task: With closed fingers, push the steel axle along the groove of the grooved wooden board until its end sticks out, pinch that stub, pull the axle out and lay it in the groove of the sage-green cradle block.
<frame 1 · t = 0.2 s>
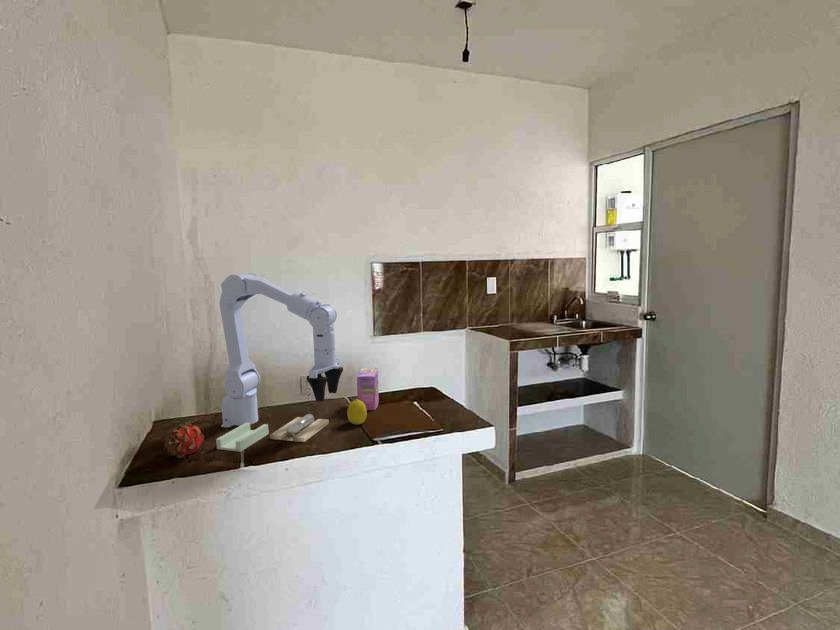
hand: (326, 396, 132), 9 cm above the countertop, tool pointing down, fingers open, 7 cm apart
lemon: (357, 426, 135), on the countertop
dragon fruit: (185, 455, 118), on the countertop
axle: (300, 430, 130), point 1 cm above the countertop, touching grooved wooden board
cradle: (244, 444, 124), on the countertop
grooved wooden board: (301, 433, 130), on the countertop
box: (368, 408, 151), on the countertop
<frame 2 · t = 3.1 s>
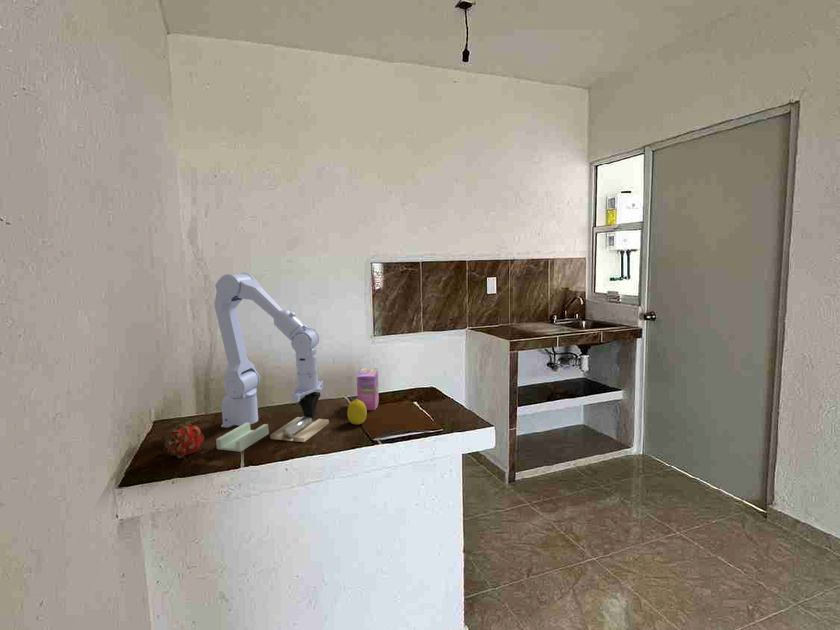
hand: (309, 418, 135), 3 cm above the countertop, tool pointing down, fingers closed
axle: (298, 431, 129), point 1 cm above the countertop, tilted 7°, touching gripper
everything else where it was.
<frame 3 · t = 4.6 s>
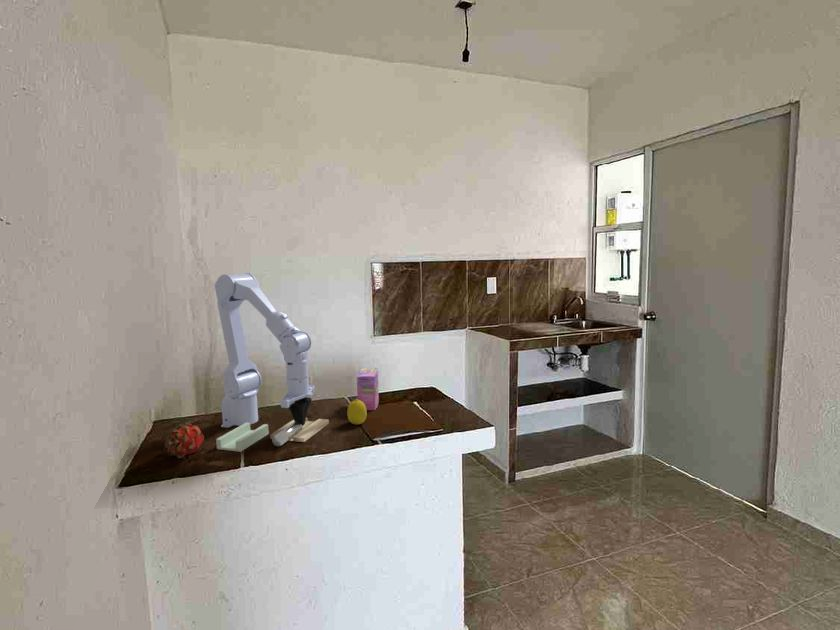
hand: (300, 425, 130), 3 cm above the countertop, tool pointing down, fingers closed
axle: (288, 438, 124), point 1 cm above the countertop, tilted 6°, touching grooved wooden board, gripper
everything else where it was.
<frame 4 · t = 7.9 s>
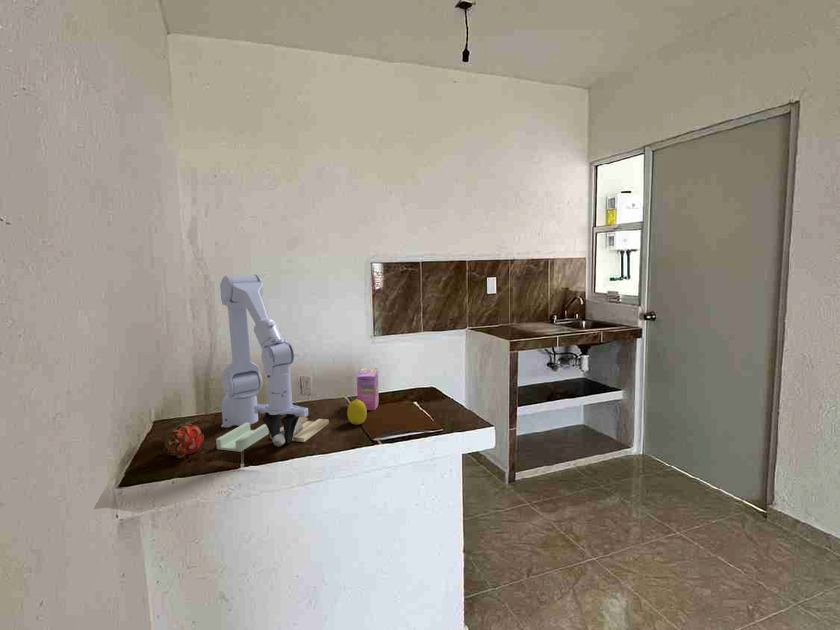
hand: (282, 441, 121), 1 cm above the countertop, tool pointing down, fingers closed on axle, 3 cm apart
axle: (288, 439, 124), point 1 cm above the countertop, touching grooved wooden board, gripper
everything else where it was.
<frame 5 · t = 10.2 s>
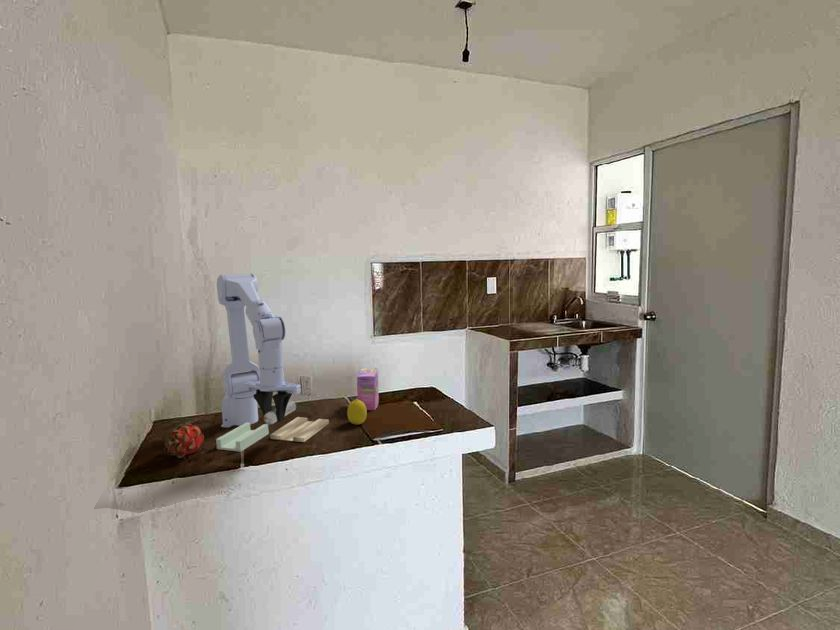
hand: (274, 419, 118), 8 cm above the countertop, tool pointing down, fingers closed on axle, 3 cm apart
axle: (281, 417, 120), point 8 cm above the countertop, touching gripper
everything else where it was.
when the fingers open (4 cm above the countertop, at t = 12.5 s): axle drops 2 cm, resting on cradle.
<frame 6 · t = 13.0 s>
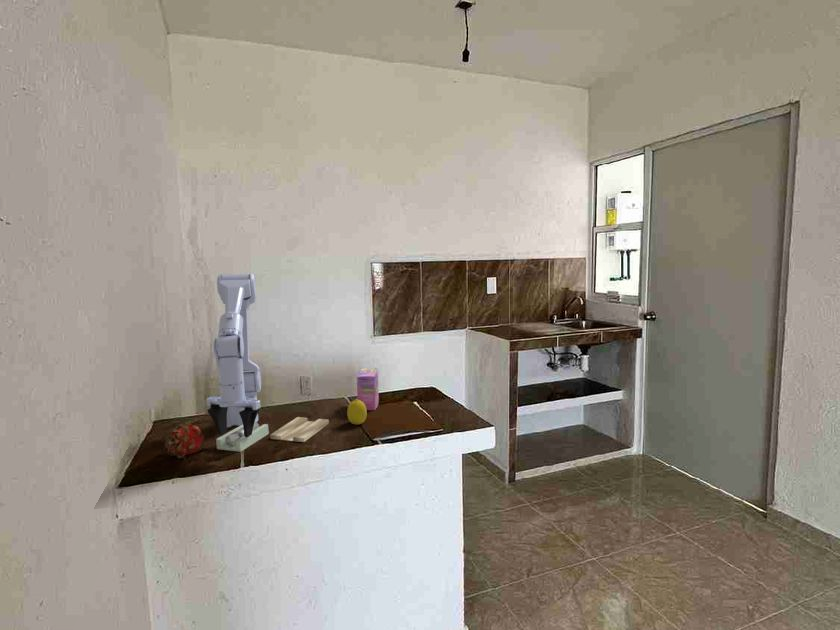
hand: (235, 434, 120), 4 cm above the countertop, tool pointing down, fingers open, 7 cm apart
axle: (243, 439, 123), point 1 cm above the countertop, touching cradle
everything else where it was.
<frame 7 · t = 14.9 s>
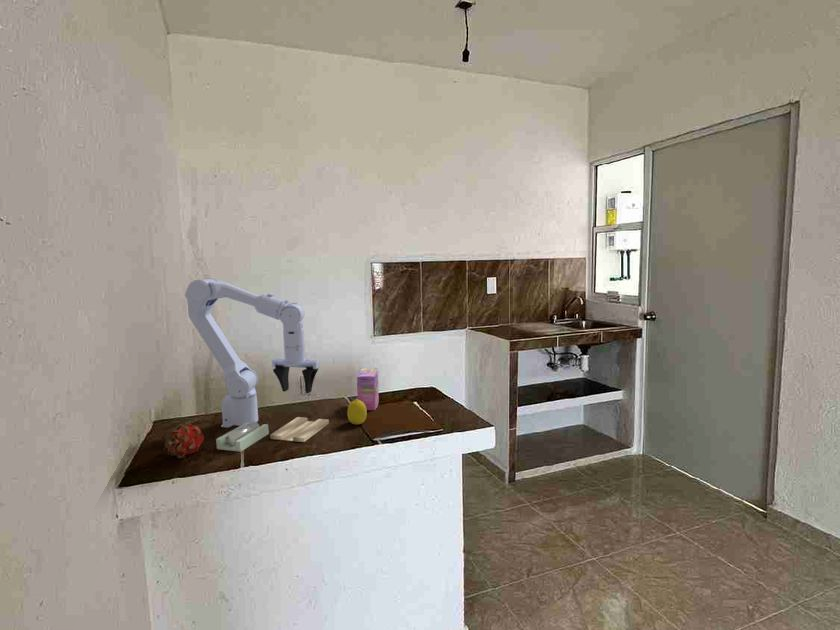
hand: (297, 391, 138), 9 cm above the countertop, tool pointing down, fingers open, 7 cm apart
nothing on the countertop moved.
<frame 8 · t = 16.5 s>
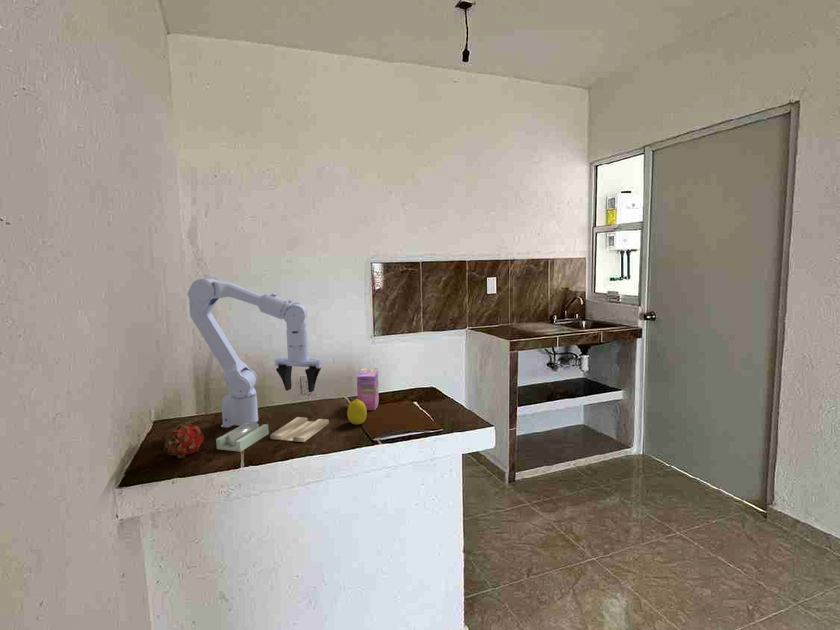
hand: (299, 390, 139), 9 cm above the countertop, tool pointing down, fingers open, 7 cm apart
nothing on the countertop moved.
at the end: axle inside the target area on the cradle (0.1 cm from its centre), point 1.5 cm above the cradle's base; axle touching cradle; the gripper is holding nothing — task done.
